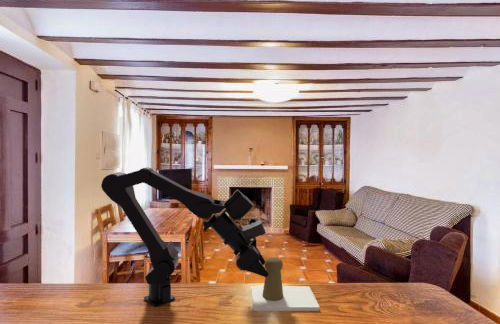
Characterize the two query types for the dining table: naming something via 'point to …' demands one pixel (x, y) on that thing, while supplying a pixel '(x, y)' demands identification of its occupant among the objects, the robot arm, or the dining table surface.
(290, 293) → the white board
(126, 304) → the dining table surface
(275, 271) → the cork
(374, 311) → the dining table surface
